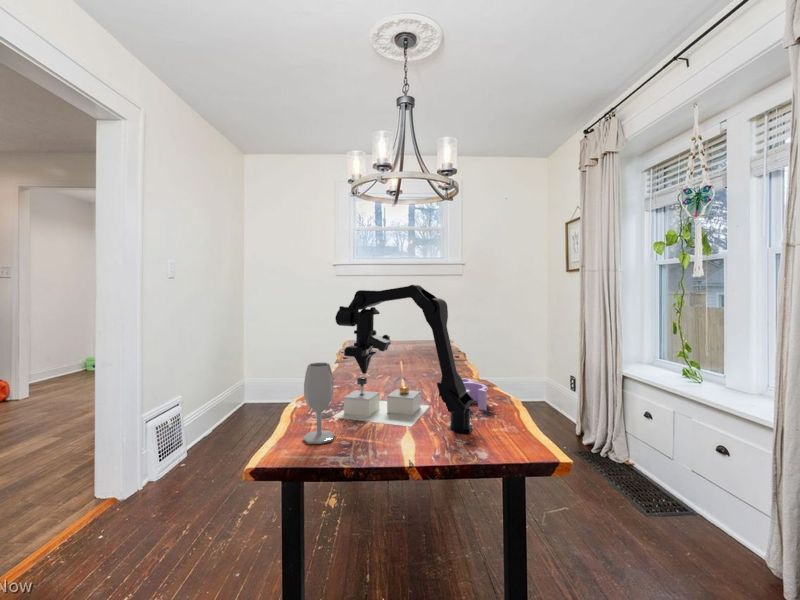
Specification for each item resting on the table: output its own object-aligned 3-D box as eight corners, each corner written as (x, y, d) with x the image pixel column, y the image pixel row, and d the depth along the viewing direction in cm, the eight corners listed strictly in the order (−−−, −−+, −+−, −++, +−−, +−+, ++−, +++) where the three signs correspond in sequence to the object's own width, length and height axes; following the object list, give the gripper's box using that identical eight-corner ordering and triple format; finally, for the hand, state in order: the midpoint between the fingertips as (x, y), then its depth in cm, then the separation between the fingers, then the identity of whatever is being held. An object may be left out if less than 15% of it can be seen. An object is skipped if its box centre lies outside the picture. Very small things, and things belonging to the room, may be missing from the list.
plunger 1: (367, 403, 124) (367, 381, 124) (347, 401, 127) (347, 379, 126) (376, 397, 131) (375, 376, 131) (357, 395, 133) (356, 375, 133)
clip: (443, 396, 150) (443, 378, 150) (473, 394, 152) (473, 377, 152) (458, 412, 131) (458, 392, 131) (493, 410, 133) (493, 390, 132)
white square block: (368, 417, 123) (368, 399, 123) (343, 414, 126) (343, 397, 126) (381, 407, 133) (380, 391, 133) (357, 405, 136) (357, 389, 136)
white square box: (412, 415, 125) (412, 398, 124) (387, 413, 128) (387, 395, 127) (421, 406, 134) (421, 390, 134) (397, 404, 137) (397, 388, 137)
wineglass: (303, 446, 102) (302, 368, 101) (302, 434, 110) (302, 362, 110) (336, 443, 104) (336, 366, 103) (333, 431, 112) (333, 360, 112)
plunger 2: (411, 412, 126) (411, 391, 126) (390, 410, 128) (390, 389, 128) (417, 406, 133) (417, 385, 132) (397, 404, 135) (397, 384, 135)
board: (411, 428, 115) (411, 426, 115) (331, 418, 124) (331, 416, 124) (430, 407, 136) (430, 405, 136) (360, 400, 145) (360, 398, 145)
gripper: (375, 331, 117) (375, 382, 118) (397, 326, 134) (396, 370, 135) (343, 329, 121) (343, 378, 121) (368, 324, 138) (367, 367, 139)
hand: (364, 373), depth 129 cm, fingers closed
